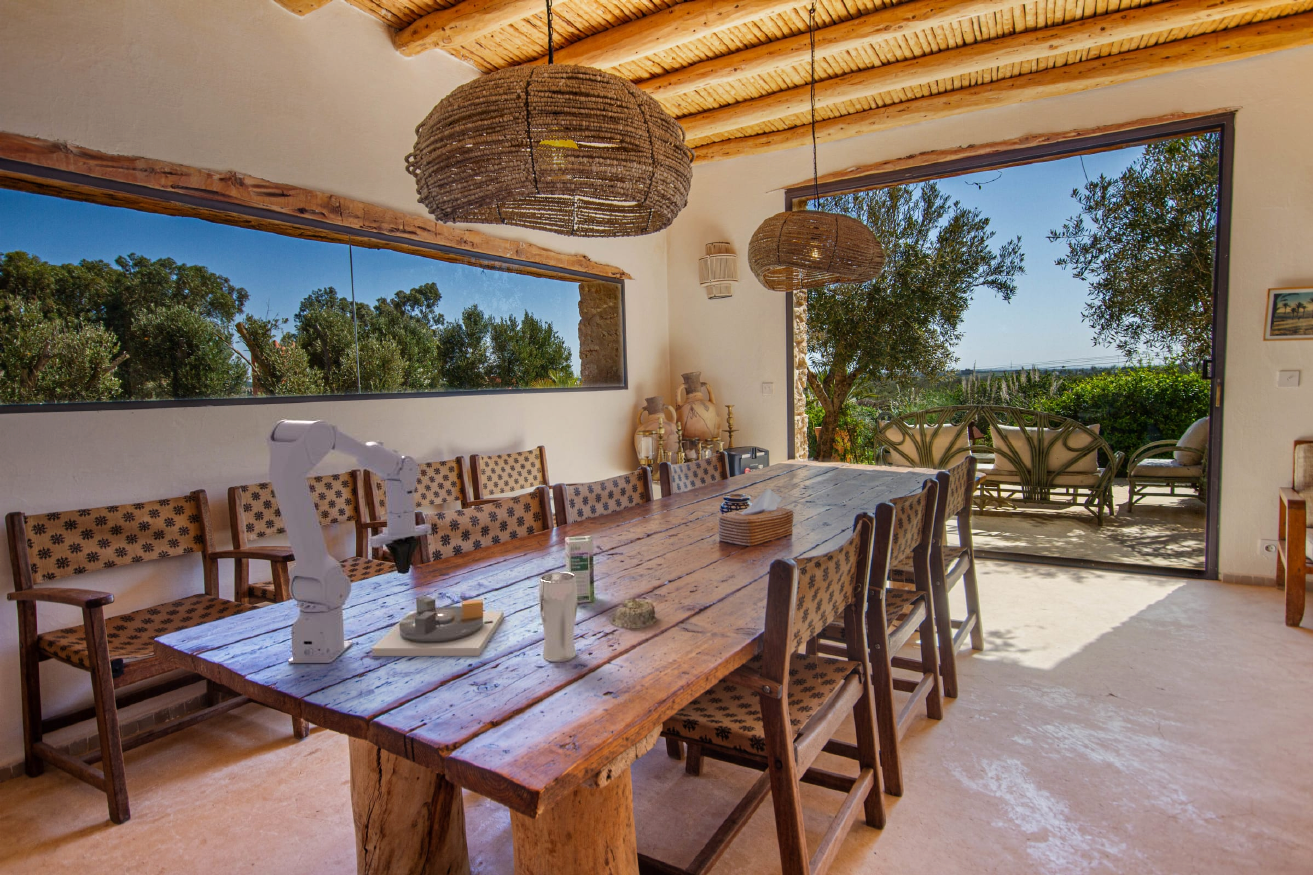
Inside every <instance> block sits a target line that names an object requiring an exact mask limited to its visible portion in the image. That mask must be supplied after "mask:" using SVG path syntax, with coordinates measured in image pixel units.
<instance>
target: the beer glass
mask: <svg viewBox="0 0 1313 875" xmlns="http://www.w3.org/2000/svg"><path fill="white" fill-rule="evenodd" d="M538 590H539V594H538V595H539V596H538V598H539V599H538V601H539V612H540V617H541V622H542V627H543V632H544V634H543V635H544V646H543V651H542V652H543V653H542V658H543V659H544V661H547V662H551V663H563V662H568V661H571V660H573V659H574V658H575V657H576V656H577V652H576V651H577V650H576V646H575V645H576V644H575V641H574V634H575V633H574V632H575V624H576V617H577V613H578V612H577V611H578V603H577V585H576V575H575V574H573V573H569V572H566V571H552V572H548V573H544V574H542V575H541V576H540V577H539V589H538Z"/></svg>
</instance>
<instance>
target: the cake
mask: <svg viewBox="0 0 1313 875" xmlns="http://www.w3.org/2000/svg"><path fill="white" fill-rule="evenodd" d="M621 605H622V606H621V607H620V608H617V609H616V610H615V614H613V615H611V617H610V619H609V622H610V624H612V625H613V626H614V627H617V628H620V629H642V628H647V627H650V626H652V625H653V623H654V624H655V623H656V622H657V617H656V614H655V613H656V612H655V611H656V610H655V606H654V604H653V603H652V602H649V601H646V600H645V599H636V598H633V597H632V598H631V599H624V600H623V601H622V602H621ZM655 621H656V622H655Z"/></svg>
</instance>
